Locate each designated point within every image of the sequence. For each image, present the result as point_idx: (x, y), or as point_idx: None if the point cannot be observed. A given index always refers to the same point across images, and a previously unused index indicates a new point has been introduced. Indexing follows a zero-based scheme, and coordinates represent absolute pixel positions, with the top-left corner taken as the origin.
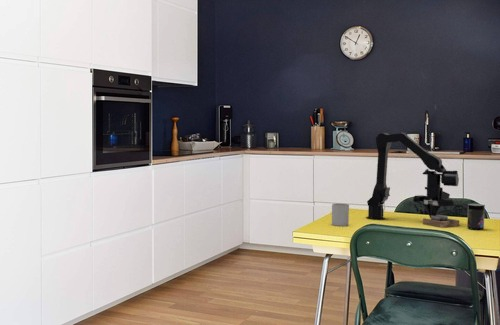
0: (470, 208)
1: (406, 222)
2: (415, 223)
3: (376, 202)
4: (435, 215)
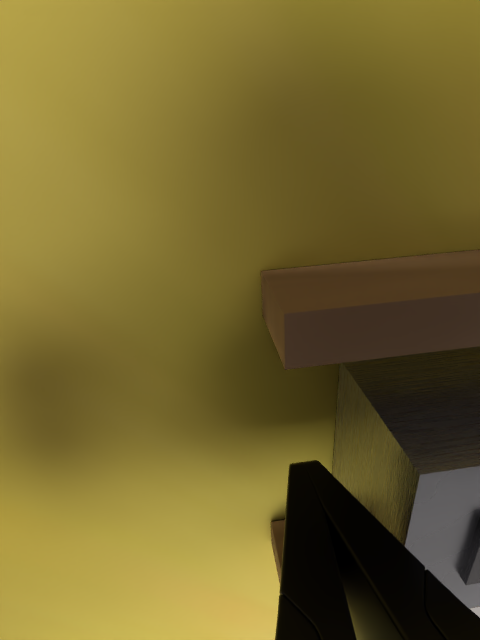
0: None
1: (95, 618)
2: (193, 577)
3: None
4: (443, 574)
